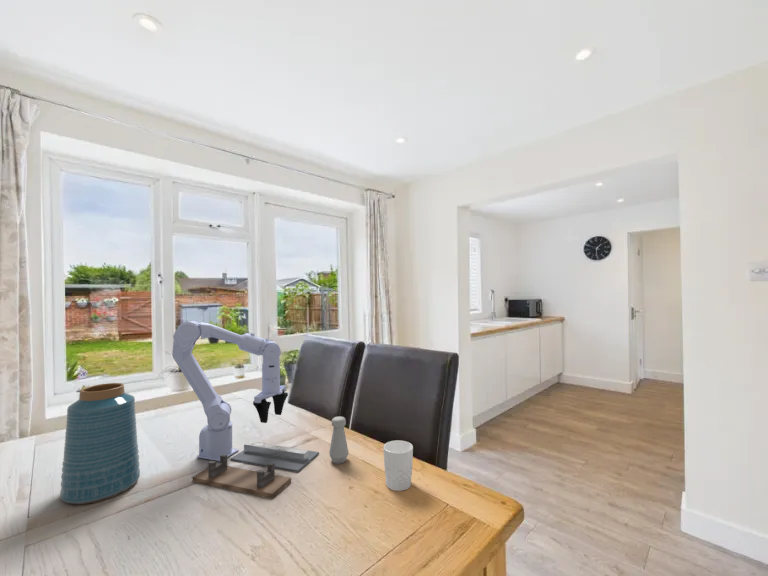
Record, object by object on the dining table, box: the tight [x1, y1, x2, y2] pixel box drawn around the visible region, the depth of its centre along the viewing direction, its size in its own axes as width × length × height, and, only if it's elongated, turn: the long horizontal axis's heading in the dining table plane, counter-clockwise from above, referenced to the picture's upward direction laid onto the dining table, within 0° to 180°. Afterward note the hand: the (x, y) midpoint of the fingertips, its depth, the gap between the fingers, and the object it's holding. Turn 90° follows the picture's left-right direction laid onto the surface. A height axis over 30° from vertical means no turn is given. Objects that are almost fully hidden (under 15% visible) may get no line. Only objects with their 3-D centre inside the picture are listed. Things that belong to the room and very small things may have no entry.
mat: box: [230, 442, 320, 473], centre depth 109 cm, size 24×12×1 cm, turn 71°
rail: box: [243, 441, 309, 462], centre depth 109 cm, size 22×2×2 cm, turn 71°
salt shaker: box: [328, 415, 349, 465], centre depth 106 cm, size 6×6×13 cm
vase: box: [59, 382, 141, 505], centre depth 92 cm, size 16×16×27 cm
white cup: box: [383, 439, 414, 492], centre depth 93 cm, size 8×8×10 cm
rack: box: [191, 454, 292, 499], centre depth 95 cm, size 26×8×5 cm, turn 71°
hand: (271, 418), depth 117 cm, fingers open, 7 cm apart
